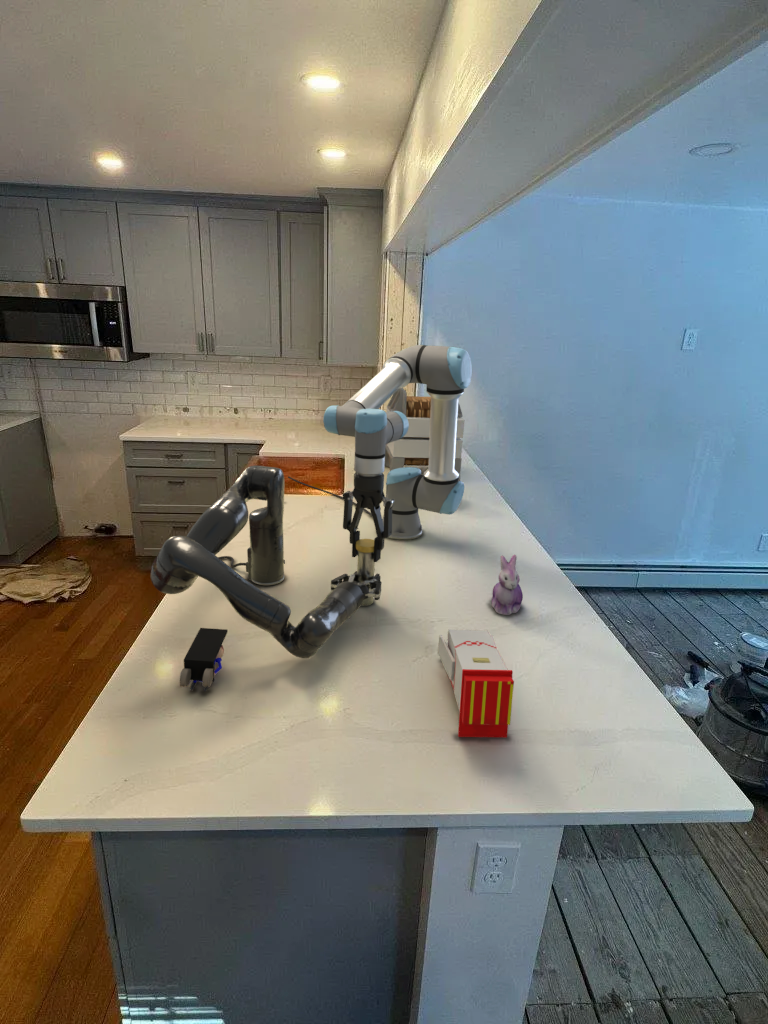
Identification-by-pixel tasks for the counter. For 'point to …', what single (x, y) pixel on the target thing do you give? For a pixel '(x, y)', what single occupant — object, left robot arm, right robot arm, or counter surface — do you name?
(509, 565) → the figurine
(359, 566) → the bottle
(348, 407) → the right robot arm
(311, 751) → the counter surface
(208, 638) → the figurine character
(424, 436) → the white wooden crate
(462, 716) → the toy
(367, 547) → the lid
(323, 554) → the counter surface
